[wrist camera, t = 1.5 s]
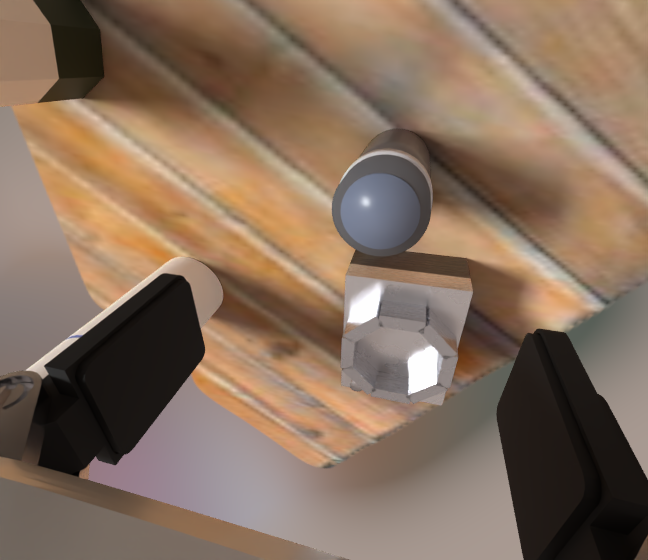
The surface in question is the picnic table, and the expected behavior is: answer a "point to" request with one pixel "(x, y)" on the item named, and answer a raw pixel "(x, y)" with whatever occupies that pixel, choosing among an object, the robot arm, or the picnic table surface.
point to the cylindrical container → (195, 272)
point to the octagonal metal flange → (404, 324)
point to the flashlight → (385, 195)
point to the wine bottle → (47, 51)
